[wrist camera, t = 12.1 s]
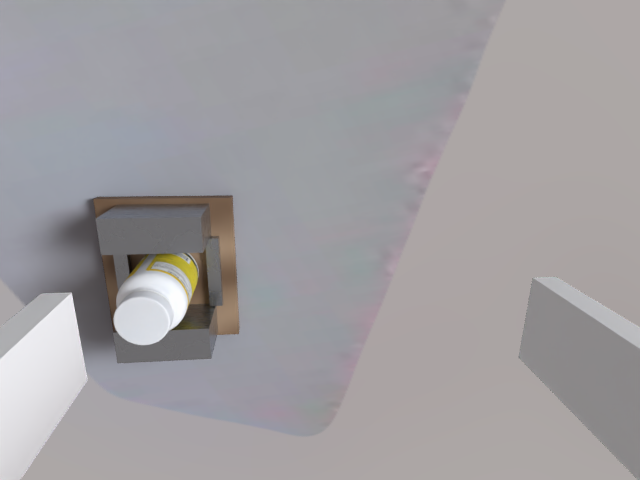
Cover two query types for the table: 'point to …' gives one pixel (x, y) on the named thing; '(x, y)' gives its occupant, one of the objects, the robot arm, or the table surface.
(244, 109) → the table surface
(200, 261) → the mount board
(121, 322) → the supplement bottle
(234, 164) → the table surface
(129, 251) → the grey rectangular frame
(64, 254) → the table surface
